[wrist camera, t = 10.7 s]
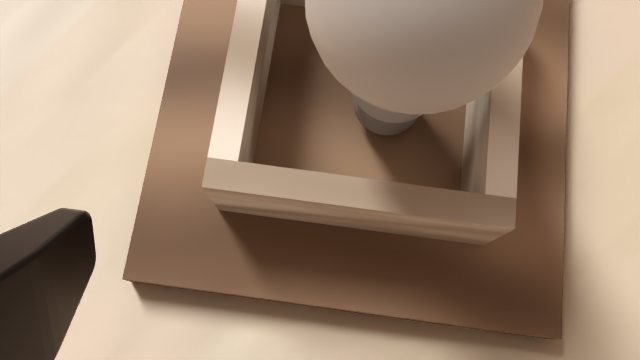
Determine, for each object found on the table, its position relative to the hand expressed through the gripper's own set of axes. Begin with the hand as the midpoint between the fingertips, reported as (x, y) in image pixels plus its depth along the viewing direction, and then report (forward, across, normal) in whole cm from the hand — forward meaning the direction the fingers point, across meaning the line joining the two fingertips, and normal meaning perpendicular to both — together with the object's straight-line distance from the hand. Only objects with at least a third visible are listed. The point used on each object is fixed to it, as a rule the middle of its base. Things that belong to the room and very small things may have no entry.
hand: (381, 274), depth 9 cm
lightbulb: (+14, -1, +4) cm, 15 cm away
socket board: (+15, 0, +4) cm, 16 cm away
